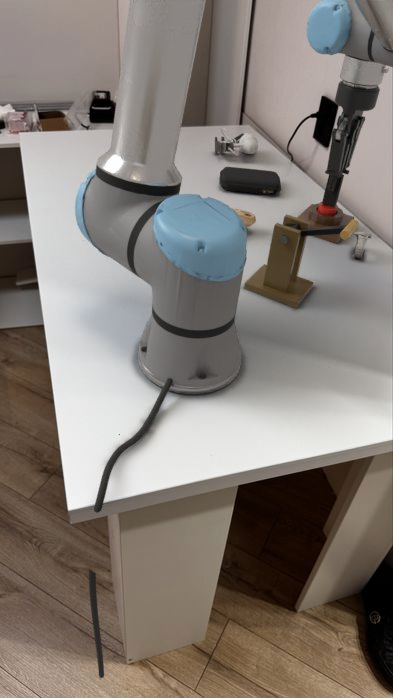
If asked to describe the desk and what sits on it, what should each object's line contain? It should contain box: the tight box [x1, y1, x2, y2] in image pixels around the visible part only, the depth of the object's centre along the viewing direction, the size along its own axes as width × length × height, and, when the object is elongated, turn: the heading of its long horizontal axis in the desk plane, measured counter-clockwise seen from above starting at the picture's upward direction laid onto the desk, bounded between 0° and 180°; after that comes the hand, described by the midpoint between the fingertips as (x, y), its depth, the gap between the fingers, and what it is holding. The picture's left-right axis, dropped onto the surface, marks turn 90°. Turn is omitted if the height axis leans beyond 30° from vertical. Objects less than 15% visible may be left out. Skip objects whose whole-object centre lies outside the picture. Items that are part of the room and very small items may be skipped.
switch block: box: [297, 202, 355, 244], centre depth 114 cm, size 10×10×4 cm
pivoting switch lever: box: [285, 218, 360, 240], centre depth 86 cm, size 12×5×2 cm, turn 59°
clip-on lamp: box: [214, 126, 259, 157], centre depth 144 cm, size 12×6×18 cm
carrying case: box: [219, 166, 282, 196], centre depth 127 cm, size 11×3×15 cm
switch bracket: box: [244, 214, 315, 309], centre depth 91 cm, size 10×8×13 cm
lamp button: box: [317, 201, 339, 216], centre depth 113 cm, size 4×4×2 cm
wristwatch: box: [352, 230, 373, 260], centre depth 106 cm, size 4×6×5 cm, turn 162°
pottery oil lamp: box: [231, 207, 257, 229], centre depth 108 cm, size 9×12×7 cm
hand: (329, 203), depth 112 cm, fingers closed
